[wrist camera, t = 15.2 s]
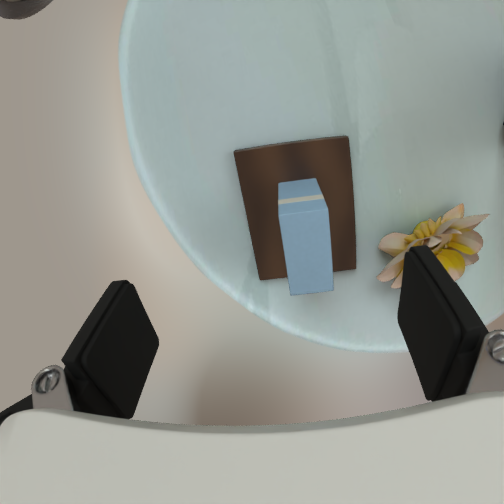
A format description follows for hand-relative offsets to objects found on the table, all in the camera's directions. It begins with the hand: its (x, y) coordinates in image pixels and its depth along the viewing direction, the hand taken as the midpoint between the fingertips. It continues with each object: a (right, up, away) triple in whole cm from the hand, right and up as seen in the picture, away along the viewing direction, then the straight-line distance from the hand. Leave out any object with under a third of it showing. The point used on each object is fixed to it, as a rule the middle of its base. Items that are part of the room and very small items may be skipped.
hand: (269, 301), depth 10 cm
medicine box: (+5, +6, +24) cm, 25 cm away
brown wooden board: (+5, +6, +25) cm, 26 cm away
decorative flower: (+21, +3, +25) cm, 33 cm away
